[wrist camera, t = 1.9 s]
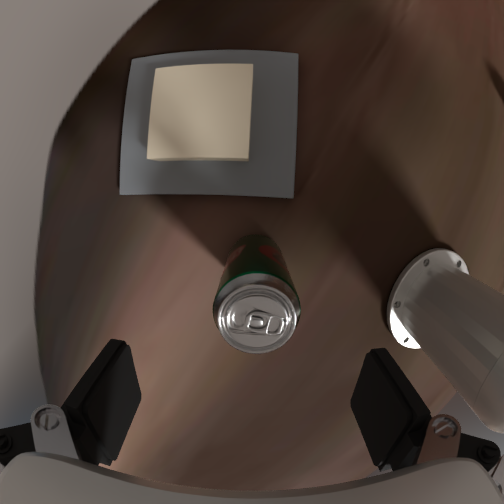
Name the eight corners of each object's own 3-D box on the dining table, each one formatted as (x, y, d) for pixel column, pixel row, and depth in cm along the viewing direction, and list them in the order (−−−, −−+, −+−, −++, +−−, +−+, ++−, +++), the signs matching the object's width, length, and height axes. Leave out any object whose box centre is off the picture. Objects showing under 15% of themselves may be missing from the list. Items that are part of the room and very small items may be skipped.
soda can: (234, 228, 25) (218, 268, 14) (287, 239, 25) (315, 288, 14) (223, 278, 26) (203, 350, 15) (274, 289, 27) (289, 365, 15)
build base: (296, 58, 21) (303, 39, 17) (291, 197, 24) (299, 200, 20) (136, 63, 21) (119, 47, 17) (125, 194, 24) (104, 197, 20)
